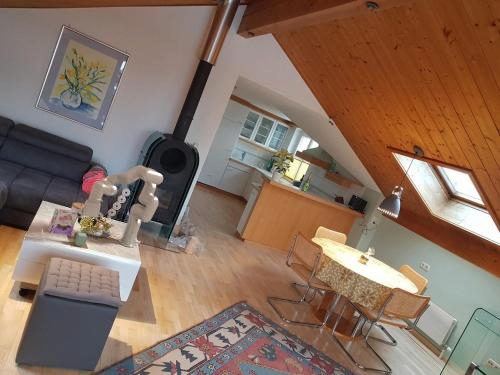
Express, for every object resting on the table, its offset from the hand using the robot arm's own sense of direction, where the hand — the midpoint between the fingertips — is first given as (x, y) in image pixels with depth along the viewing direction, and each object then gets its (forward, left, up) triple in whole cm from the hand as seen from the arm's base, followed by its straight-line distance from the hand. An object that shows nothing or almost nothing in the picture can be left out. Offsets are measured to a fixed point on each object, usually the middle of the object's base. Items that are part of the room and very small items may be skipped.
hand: (86, 224), depth 254 cm
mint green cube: (0, 0, -14) cm, 14 cm away
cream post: (0, 0, -15) cm, 15 cm away
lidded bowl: (-9, -56, -16) cm, 59 cm away
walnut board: (0, -5, -16) cm, 17 cm away
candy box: (+10, -17, -16) cm, 25 cm away
